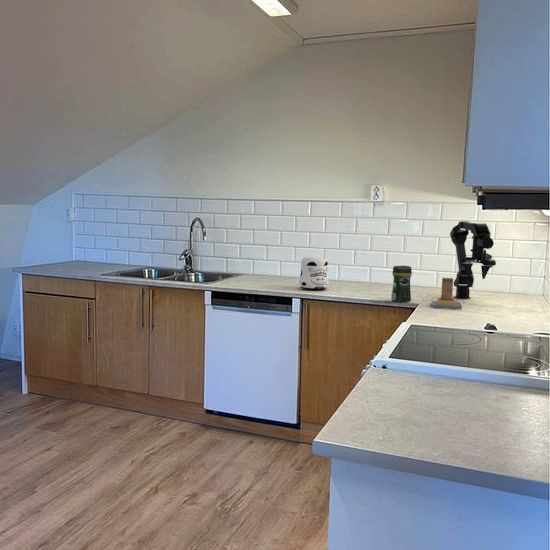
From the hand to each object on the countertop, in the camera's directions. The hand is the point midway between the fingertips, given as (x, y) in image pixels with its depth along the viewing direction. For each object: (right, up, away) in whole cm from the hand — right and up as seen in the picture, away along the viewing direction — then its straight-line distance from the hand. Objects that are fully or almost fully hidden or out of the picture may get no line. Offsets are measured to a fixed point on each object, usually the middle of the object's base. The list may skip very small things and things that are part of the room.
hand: (476, 277), depth 278 cm
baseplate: (-20, -14, -12) cm, 27 cm away
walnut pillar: (-19, -13, -12) cm, 26 cm away
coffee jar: (-39, -12, +1) cm, 41 cm away
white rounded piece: (-81, -7, +38) cm, 90 cm away
